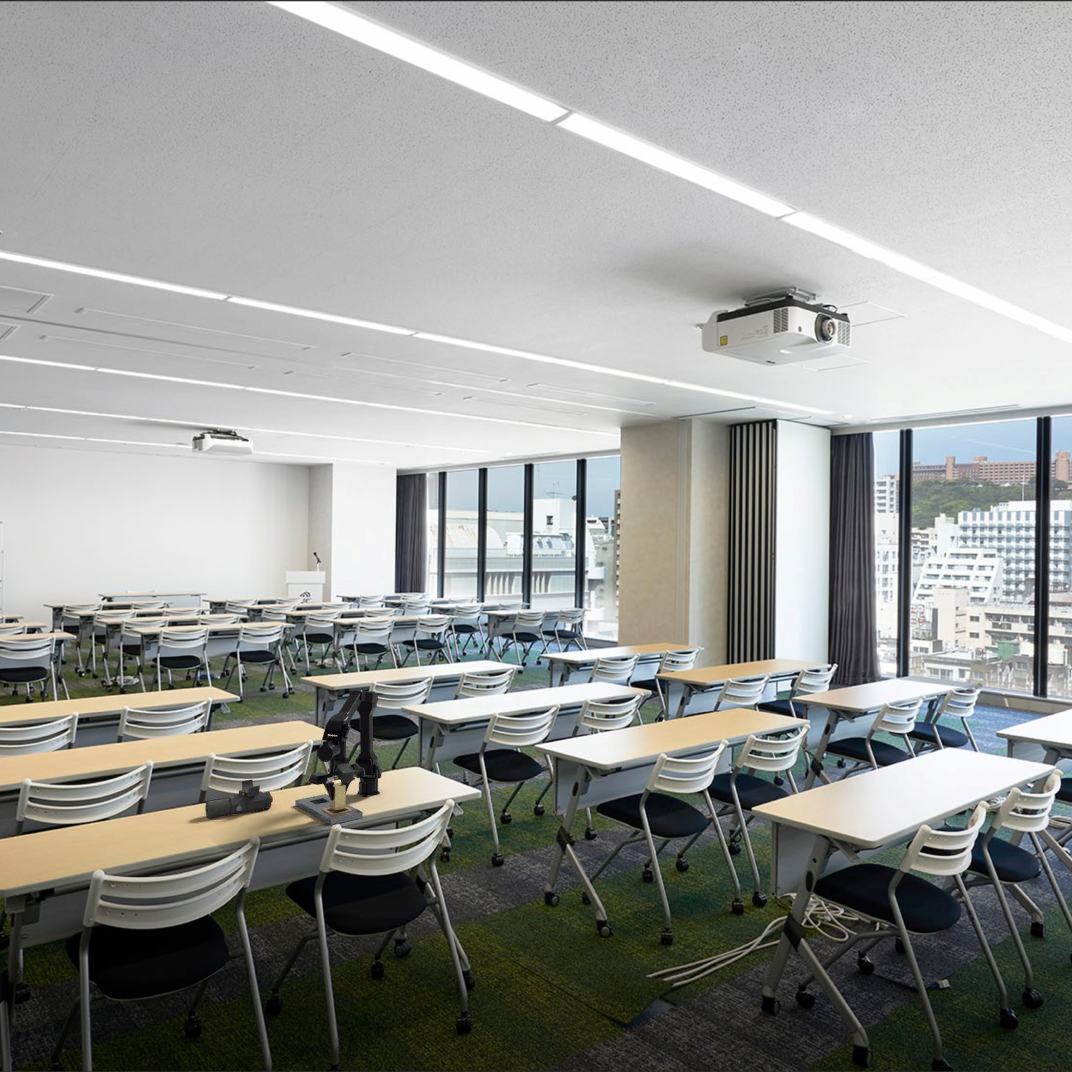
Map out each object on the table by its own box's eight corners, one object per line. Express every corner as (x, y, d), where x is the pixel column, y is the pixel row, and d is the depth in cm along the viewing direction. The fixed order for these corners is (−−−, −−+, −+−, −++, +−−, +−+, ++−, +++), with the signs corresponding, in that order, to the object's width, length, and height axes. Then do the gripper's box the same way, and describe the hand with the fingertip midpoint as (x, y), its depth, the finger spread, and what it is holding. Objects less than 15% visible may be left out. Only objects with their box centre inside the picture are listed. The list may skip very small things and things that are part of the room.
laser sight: (203, 815, 299) (204, 786, 299) (267, 804, 311) (268, 777, 311) (210, 822, 291) (210, 793, 291) (275, 811, 303) (276, 783, 303)
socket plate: (325, 799, 317) (325, 793, 317) (362, 817, 295) (362, 811, 296) (295, 805, 309) (295, 799, 309) (331, 825, 288) (331, 818, 288)
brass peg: (340, 805, 300) (340, 782, 300) (345, 808, 297) (345, 785, 297) (329, 807, 297) (329, 784, 297) (335, 810, 294) (335, 787, 294)
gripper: (323, 763, 285) (323, 810, 285) (372, 754, 297) (372, 799, 297) (309, 757, 293) (308, 802, 293) (357, 748, 306) (357, 792, 305)
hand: (337, 799), depth 297 cm, fingers closed on brass peg, 4 cm apart
